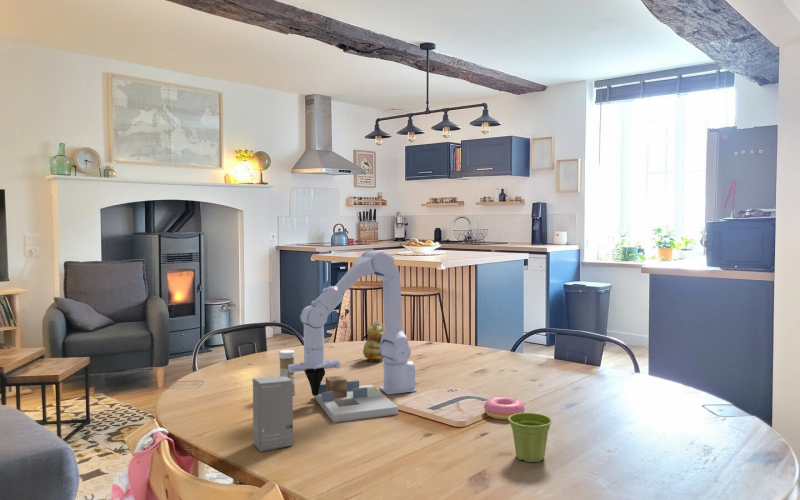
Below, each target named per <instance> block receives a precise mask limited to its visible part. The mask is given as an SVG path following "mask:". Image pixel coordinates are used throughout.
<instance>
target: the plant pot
mask: <svg viewBox="0 0 800 500" xmlns="http://www.w3.org/2000/svg"><path fill="white" fill-rule="evenodd" d="M507 421H509V424H510V428H511V430H512V436H513V442H514V443H513V444H514V450H515V455H516V458H517V459H518V460H520V461H521V460H523V461H525V462H526V463H539V462H541V461H542V460H544V459H545V456H546V448H547V441H548V433H549V430H550V427H551V425H552V423H553V419H552V418H551V417H550V416H547V415H545V414H543V413H542V414H541V413H535V412H524V413H517V414H513V415H511V416H509V418H508V420H507Z"/></svg>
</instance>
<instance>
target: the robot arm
mask: <svg viewBox="0 0 800 500" xmlns="http://www.w3.org/2000/svg"><path fill="white" fill-rule="evenodd" d="M368 275H369V276H370V275H375V276H376V277H377V278H379V279H380V280H381V281H382V293H383V295H382V296H383V313H384V314H383V316H384V317H383V318H384V319H383V320H384V321H383V322H384V333H383V334H382V339H381V344H380V347H379V351H380V354H381V355H382V356H383V360H382V361H383V385H380V386H379V389H380V390H381V391H382V392H384V393H385V394H386V395H395V394H402V393H403V394H404V393H411V392H417V389H416V366H415V364H414V362H413V361H412V360H409V359H410V357H411V355H412V350H411V349H412V348H411V346H410V345H409V339H408V337H407V335H406V333H405V332H404V330H403V314H402V313H403V312H402V310H403V309H402V288H401V273H400V271H399V269H398V267H397V265H396V263H395V258H394V257H393V256H392V255H391V254H390V253H389V252H386V251H374V250H366V251H364V252H362V254H361V255H360V256H359V257H357V258H356V260H355V261H354V263H353V265H351V267H350V268H349V269H348V270H347V271H346V272H345V274H344V275H343V276H342V277H341V278H340V280H338V282H337V283H336V284H335V285H334V286H333V285H330V286H328V287H324V288H323V289H321V291H322V293H321V294H320V295H319V296H318V297H317V298H316V299H315V300H312V301H311V303H310V304H311V305H306V307H304V308H303V309H302V310H301V314H300V315H299V318H300V321H301V323H302V324H303V350H304V351H303V353H304V354H303V358H304V359H303V362H299V363H298V362H297V363H294V364H290V365H289V372H290V373H293V372H294V373H295V372H297V373H298V372H304V374H305V375H306V378H307V380H308V383H309V385H310V389H311V395H312V396H316V395H318V392H319V387H320V384H322V382H323V379H324V377H325V374H326V371H325V369H326V370H327V369H340V368H341V362H340V359H337V360H336V359H332V360H331V359H330V360H326V359H325V331H324V330H325V328H324V325H325V324H326V323H327V322H328V316H329V315H330V314H332V312H333V311H334V310H335V309H336V307H338V306H339V305H340V303H341V302H343V299H344V294H345V293H346V292H347V291H348V290H349V289H350V288H351V287H352V286H353V285H354V284H355V283H357V282H358V281H359V280H360V279H361V278H362V277H363V276H368Z"/></svg>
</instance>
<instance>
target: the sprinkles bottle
mask: <svg viewBox="0 0 800 500" xmlns="http://www.w3.org/2000/svg"><path fill="white" fill-rule="evenodd" d="M278 355H279V356H278V357H279V376H286V377H288V378H290V379H291V380H293V381H292V382H293V396H295V394H296V391H295V390H296V389H295V386H296V385H295V383H296V380H295V379H296V378H295V372H293V373H290V372H289V365H290V364H295V350H293V349H284V350H280V351H279V352H278Z"/></svg>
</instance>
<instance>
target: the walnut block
mask: <svg viewBox="0 0 800 500" xmlns="http://www.w3.org/2000/svg"><path fill="white" fill-rule="evenodd" d="M347 381H348V380H347V378H346V377H344V376H343V375H334V376H332V375H331V376H326V377H325V383H326V392H327V391H333V398H340V397H347Z"/></svg>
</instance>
